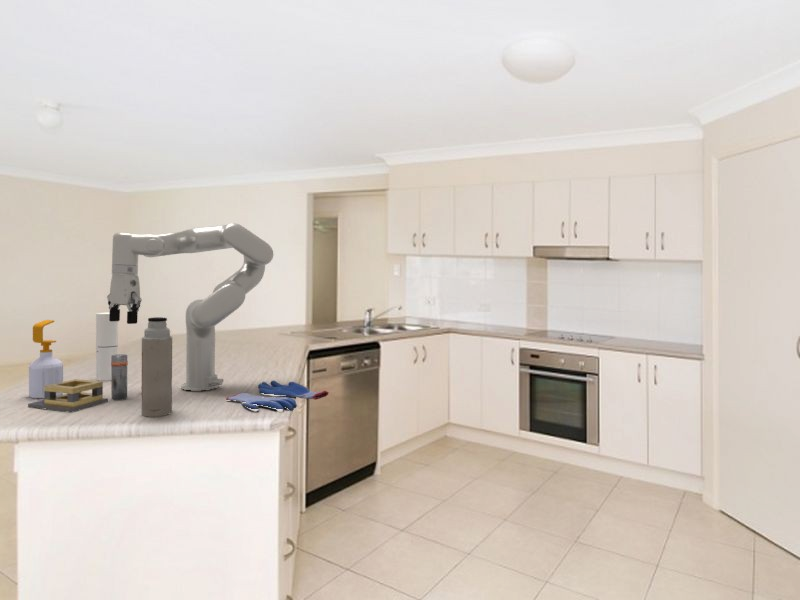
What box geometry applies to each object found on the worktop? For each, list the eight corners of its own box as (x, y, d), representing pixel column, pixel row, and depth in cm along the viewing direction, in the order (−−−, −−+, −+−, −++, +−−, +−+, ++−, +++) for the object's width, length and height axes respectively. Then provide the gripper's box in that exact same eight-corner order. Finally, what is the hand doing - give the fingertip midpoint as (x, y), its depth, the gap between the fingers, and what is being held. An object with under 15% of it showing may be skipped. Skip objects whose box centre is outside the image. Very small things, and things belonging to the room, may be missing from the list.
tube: (131, 397, 162) (131, 354, 162) (119, 400, 158) (119, 356, 157) (119, 396, 163) (119, 353, 163) (107, 399, 159) (107, 355, 158)
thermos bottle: (136, 416, 141) (136, 318, 139) (148, 409, 149) (148, 316, 147) (165, 417, 141) (166, 319, 140) (176, 409, 149) (176, 316, 148)
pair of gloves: (276, 417, 145) (276, 405, 145) (211, 405, 156) (211, 394, 156) (335, 395, 174) (335, 385, 174) (277, 387, 185) (277, 377, 185)
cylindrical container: (107, 381, 184) (107, 314, 183) (91, 380, 186) (91, 313, 185) (122, 377, 191) (122, 313, 190) (106, 376, 193) (106, 312, 192)
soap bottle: (69, 393, 165) (69, 320, 163) (42, 400, 156) (41, 322, 155) (50, 391, 168) (50, 318, 166) (22, 397, 159) (21, 320, 158)
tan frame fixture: (107, 401, 156) (107, 381, 156) (71, 412, 144) (70, 389, 143) (67, 397, 160) (67, 377, 160) (28, 407, 148) (27, 385, 147)
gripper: (151, 272, 163) (149, 324, 163) (120, 270, 171) (118, 319, 172) (129, 271, 156) (127, 325, 157) (98, 269, 165) (96, 320, 165)
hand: (123, 322), depth 164 cm, fingers open, 9 cm apart
